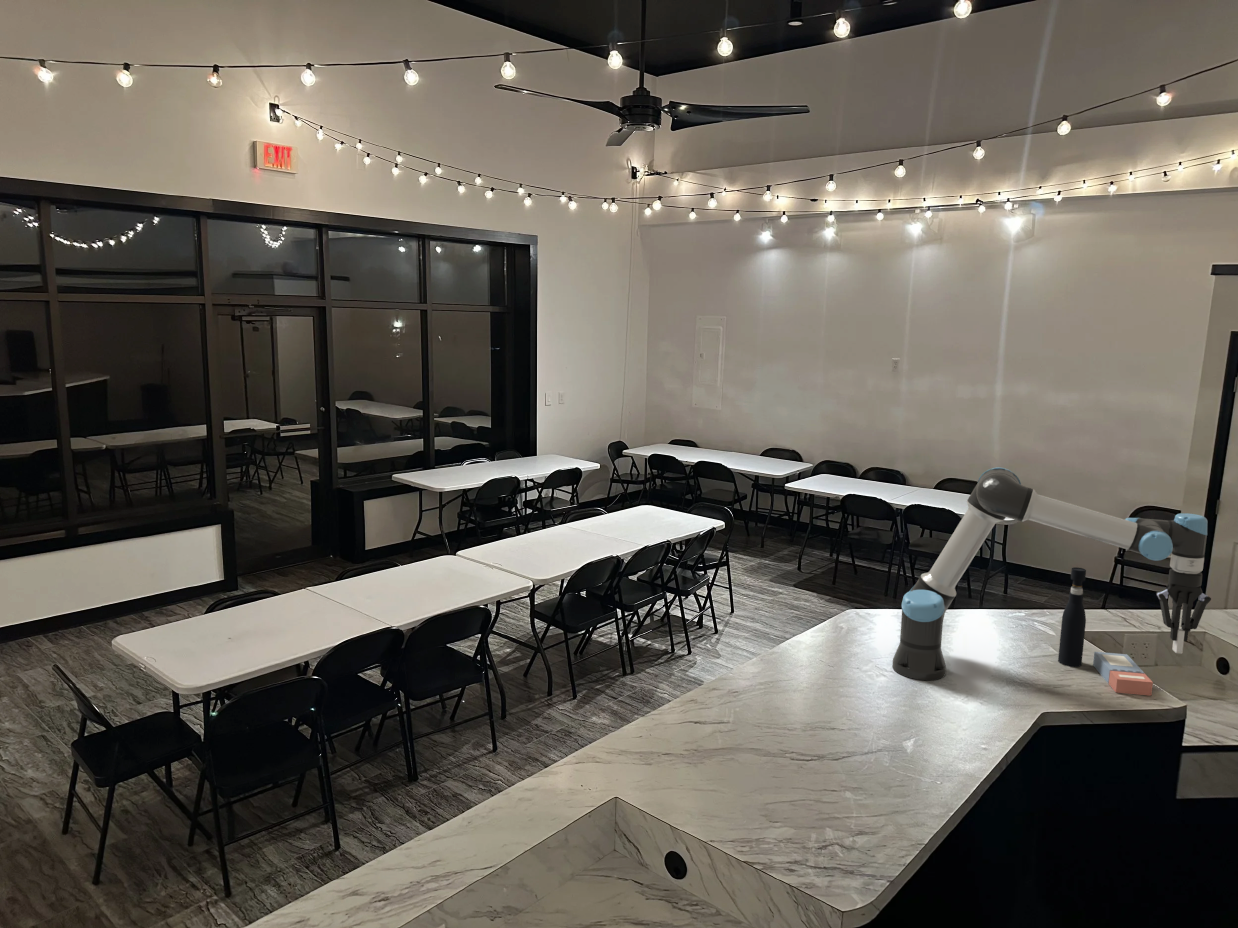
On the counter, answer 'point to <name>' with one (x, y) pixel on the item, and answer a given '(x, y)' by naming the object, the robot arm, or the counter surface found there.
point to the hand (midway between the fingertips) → (1177, 651)
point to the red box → (1130, 683)
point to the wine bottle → (1073, 623)
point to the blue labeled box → (1114, 664)
